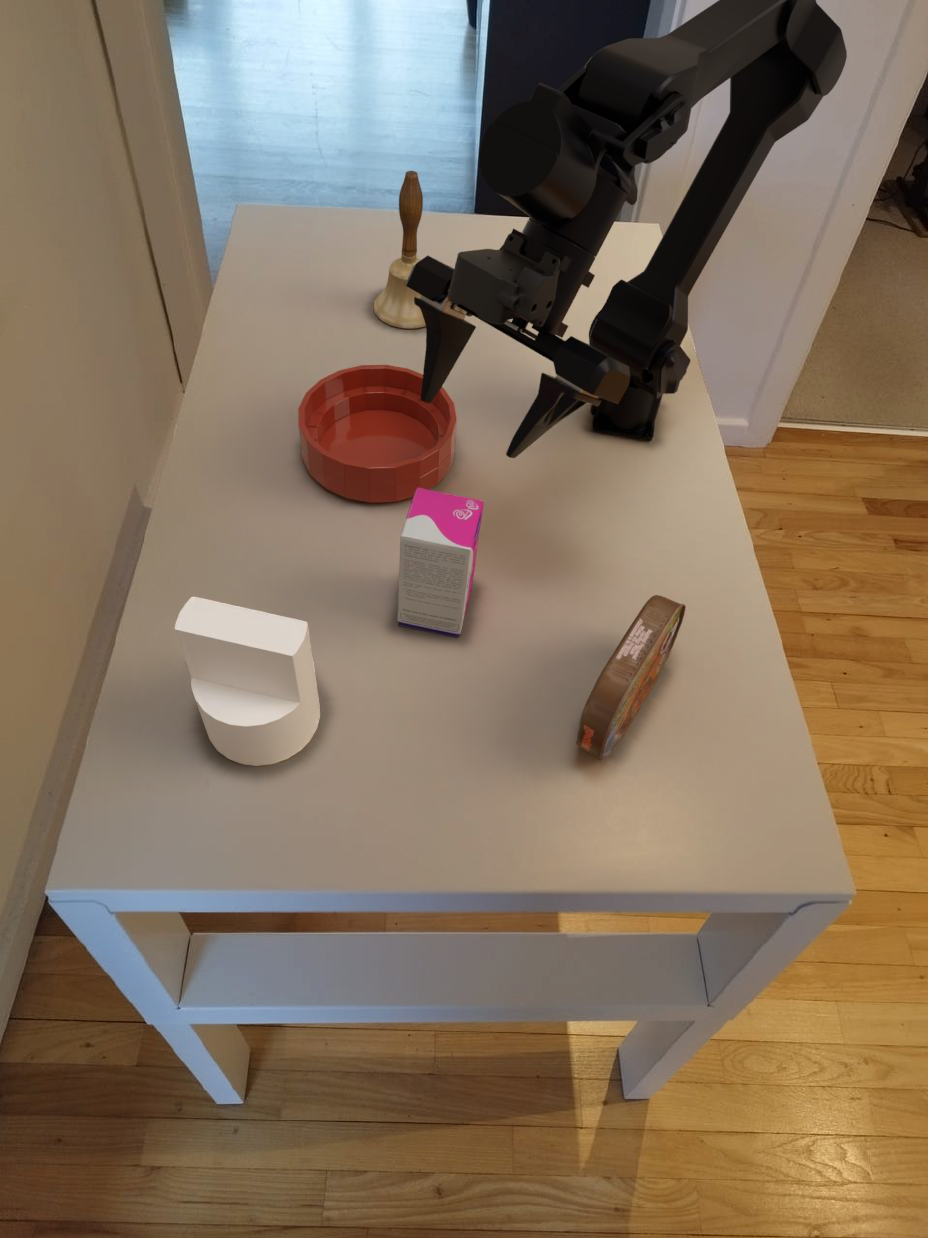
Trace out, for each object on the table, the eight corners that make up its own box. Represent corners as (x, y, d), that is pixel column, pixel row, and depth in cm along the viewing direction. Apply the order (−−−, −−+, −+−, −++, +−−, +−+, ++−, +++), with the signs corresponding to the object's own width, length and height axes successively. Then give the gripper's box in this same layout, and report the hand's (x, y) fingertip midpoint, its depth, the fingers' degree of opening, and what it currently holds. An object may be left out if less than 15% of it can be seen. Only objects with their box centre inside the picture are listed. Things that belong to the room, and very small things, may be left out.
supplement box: (462, 639, 76) (470, 551, 66) (395, 626, 76) (394, 536, 67) (475, 588, 79) (485, 498, 70) (411, 576, 80) (412, 484, 70)
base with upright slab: (335, 681, 72) (325, 590, 63) (298, 777, 67) (281, 693, 57) (231, 658, 73) (205, 564, 64) (186, 751, 68) (151, 663, 58)
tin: (597, 780, 68) (618, 725, 62) (561, 760, 69) (578, 704, 62) (674, 649, 76) (700, 588, 70) (641, 632, 77) (664, 570, 70)
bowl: (466, 417, 93) (469, 378, 89) (435, 518, 84) (437, 480, 80) (328, 392, 94) (325, 353, 90) (282, 490, 85) (276, 451, 81)
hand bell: (402, 280, 108) (402, 146, 95) (457, 306, 105) (464, 172, 93) (358, 310, 104) (352, 174, 91) (414, 338, 101) (416, 202, 88)
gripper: (411, 153, 62) (323, 359, 67) (626, 262, 55) (508, 482, 60) (487, 204, 71) (404, 380, 77) (678, 302, 64) (573, 489, 70)
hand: (466, 428), depth 70 cm, fingers open, 9 cm apart
